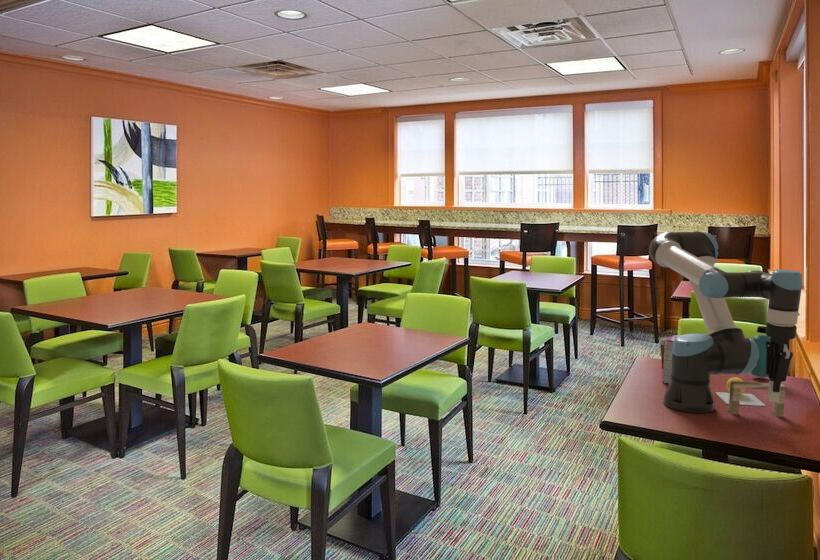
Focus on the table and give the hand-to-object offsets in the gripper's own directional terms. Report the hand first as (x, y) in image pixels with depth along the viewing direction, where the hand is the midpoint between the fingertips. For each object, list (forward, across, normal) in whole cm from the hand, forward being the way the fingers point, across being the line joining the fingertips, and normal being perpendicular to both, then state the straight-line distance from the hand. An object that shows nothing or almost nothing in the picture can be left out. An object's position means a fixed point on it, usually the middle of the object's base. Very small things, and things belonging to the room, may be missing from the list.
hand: (772, 401), depth 180 cm
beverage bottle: (+10, +53, -16) cm, 56 cm away
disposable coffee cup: (+11, +61, +14) cm, 63 cm away
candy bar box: (+10, +44, +17) cm, 48 cm away
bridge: (+9, +12, 0) cm, 15 cm away
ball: (+6, +31, -1) cm, 32 cm away
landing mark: (+9, +26, 0) cm, 28 cm away
